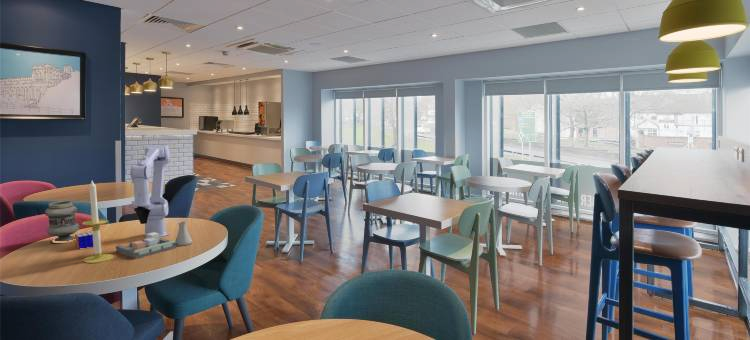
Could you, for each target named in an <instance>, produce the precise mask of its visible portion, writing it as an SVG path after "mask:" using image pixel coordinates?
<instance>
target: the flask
mask: <svg viewBox="0 0 750 340" xmlns="http://www.w3.org/2000/svg"><path fill="white" fill-rule="evenodd" d="M177 225H178V232H177V234H176V238H175V240H174V241H175V242H176V246H188V245H191V244H192V243H193V240H192V237H191V236H190V233H189V231H188V227H187V221H179V222H178V224H177Z"/></svg>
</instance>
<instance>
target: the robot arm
mask: <svg viewBox="0 0 750 340" xmlns="http://www.w3.org/2000/svg"><path fill="white" fill-rule="evenodd" d="M144 155H145V156H142V157H141V159H139V161H138V163H137V164H136V165H133V166H132V167H131V168H130V171H129V172H130V177H131V183H132V184H133V199H134V200H133V201H132V200H131V206H132V207H135V208H133V210H134V212H135V213H136V215H137V217H138V220H139V223H140V225H144V234H143V236H145V237H147V234H149V233H153V232H155V233H159V238H162V237H165V236H169V235H171V234H170V233H169V232H166V231H167V230H166V217H167V216H168V214H169V202H168V200H167V199H165V198H164V197H163V192H164V190H163V189H164V181H165V171H166V170H165V168H166V165H167V164H169V162H170V158H171V157H170V156H171V150H170V146H168V145H166V144H165V145H146V146H145V147H144ZM152 169H153V172H152ZM151 172H152V182H151V183H152V184H151V194H150V185H149V179H150V177H151Z"/></svg>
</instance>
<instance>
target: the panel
mask: <svg viewBox="0 0 750 340" xmlns="http://www.w3.org/2000/svg"><path fill="white" fill-rule="evenodd" d="M140 241H143V242H145V241H144V239H141V240H140ZM159 241H160V242H159V243H157V245H154V246H150V247H145V248H143V249H139V250H133V249H132V242H129V245H127V246H125V245H124V246H123V245H120V244H118V245H115V251H116V253H119V254H122V255H125V256H127V257H130V258H132V259H136V260H137V259H140V258H144V257H147V256H150V255H151V256H152V255H155V254H158V253H162V252H166V251H169V250H173V249H176V248H177V245H176V242H175V241H176V240H169V239H165V238H162V237H159Z"/></svg>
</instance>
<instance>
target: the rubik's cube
mask: <svg viewBox="0 0 750 340" xmlns="http://www.w3.org/2000/svg"><path fill="white" fill-rule="evenodd" d="M74 235H75V236H74V237H75V238H76V241H75V247H76V246H77V247H78V248H79V249H78V248H77V247H76V248H77V249H78V250H81V249H80V248H85V249H88V248H87V247H90V248H94V247H93V234H92V231H87V232H81V233H76V234H75V233H74Z"/></svg>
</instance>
